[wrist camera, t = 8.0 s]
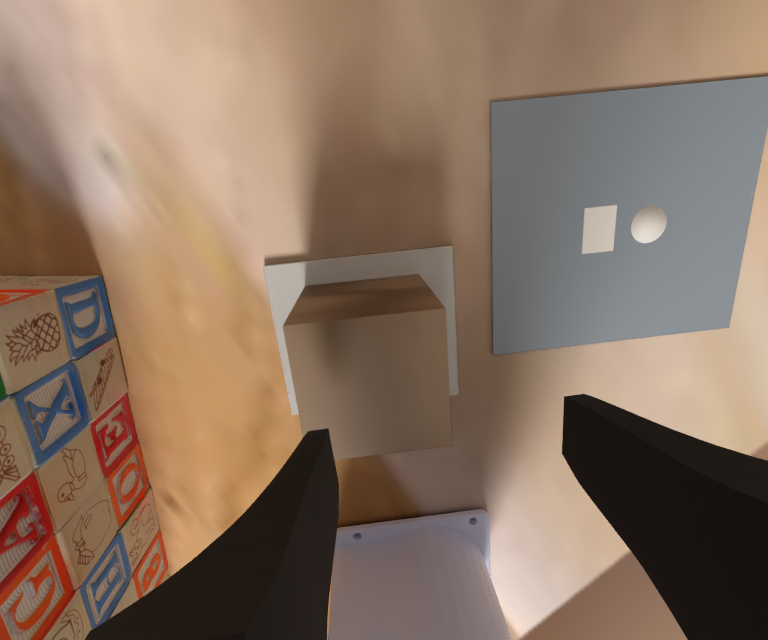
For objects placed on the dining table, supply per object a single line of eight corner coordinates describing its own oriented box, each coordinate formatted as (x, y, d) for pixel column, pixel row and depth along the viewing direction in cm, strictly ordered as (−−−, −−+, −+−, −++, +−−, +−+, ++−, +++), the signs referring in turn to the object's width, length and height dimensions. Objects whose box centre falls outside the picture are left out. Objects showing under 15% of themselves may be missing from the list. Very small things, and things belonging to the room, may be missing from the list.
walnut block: (321, 388, 20) (307, 463, 15) (304, 285, 19) (282, 326, 13) (425, 376, 21) (451, 445, 15) (418, 273, 19) (445, 308, 13)
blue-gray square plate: (492, 354, 21) (493, 355, 21) (490, 102, 17) (491, 102, 17) (727, 326, 21) (728, 327, 21) (775, 76, 17) (777, 75, 17)
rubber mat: (292, 412, 21) (291, 415, 21) (264, 265, 19) (263, 266, 18) (457, 392, 21) (458, 394, 21) (451, 245, 19) (452, 246, 19)
